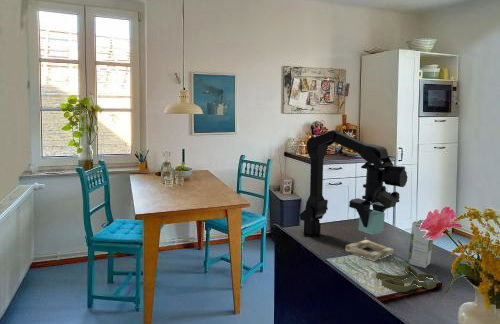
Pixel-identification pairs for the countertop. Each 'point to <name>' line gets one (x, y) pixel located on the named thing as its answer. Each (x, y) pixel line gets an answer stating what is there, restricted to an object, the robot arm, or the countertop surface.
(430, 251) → the syrup box
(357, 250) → the socket base
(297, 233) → the countertop surface
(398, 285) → the cookie cutter
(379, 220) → the turquoise block
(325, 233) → the countertop surface
